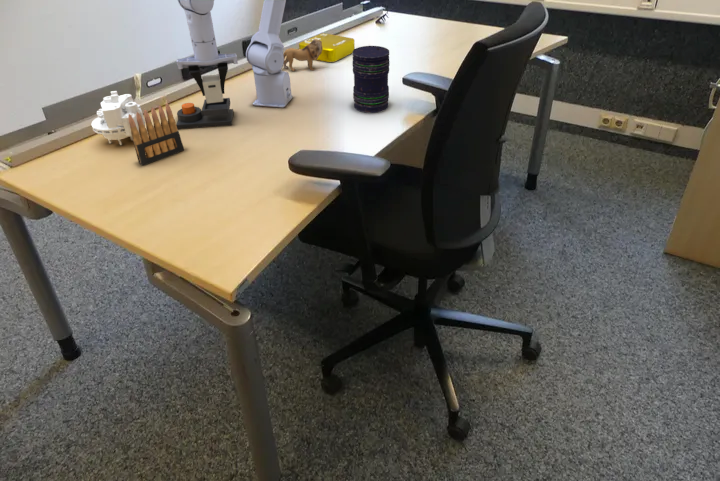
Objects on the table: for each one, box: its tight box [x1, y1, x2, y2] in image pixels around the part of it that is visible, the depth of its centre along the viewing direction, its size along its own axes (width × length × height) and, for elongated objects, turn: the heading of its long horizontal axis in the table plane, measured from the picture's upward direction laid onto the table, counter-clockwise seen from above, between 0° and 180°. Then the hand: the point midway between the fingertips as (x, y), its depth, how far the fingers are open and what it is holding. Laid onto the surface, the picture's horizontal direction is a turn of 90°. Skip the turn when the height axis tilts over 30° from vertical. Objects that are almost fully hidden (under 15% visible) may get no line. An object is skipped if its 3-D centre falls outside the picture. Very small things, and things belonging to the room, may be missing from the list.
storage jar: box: [351, 45, 390, 114], centre depth 139 cm, size 10×10×15 cm
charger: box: [201, 73, 224, 103], centre depth 132 cm, size 4×5×6 cm
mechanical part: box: [90, 90, 146, 146], centre depth 125 cm, size 11×12×12 cm
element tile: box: [298, 32, 356, 63], centre depth 178 cm, size 15×15×5 cm
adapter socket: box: [201, 97, 231, 116], centre depth 135 cm, size 7×7×2 cm
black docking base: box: [176, 106, 235, 130], centre depth 136 cm, size 14×8×3 cm, turn 98°
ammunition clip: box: [128, 102, 185, 166], centre depth 118 cm, size 11×2×12 cm, turn 133°
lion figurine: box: [281, 39, 323, 72], centre depth 165 cm, size 15×5×9 cm, turn 102°
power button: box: [181, 102, 196, 114], centre depth 135 cm, size 3×3×2 cm
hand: (213, 93), depth 133 cm, fingers closed on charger, 4 cm apart
